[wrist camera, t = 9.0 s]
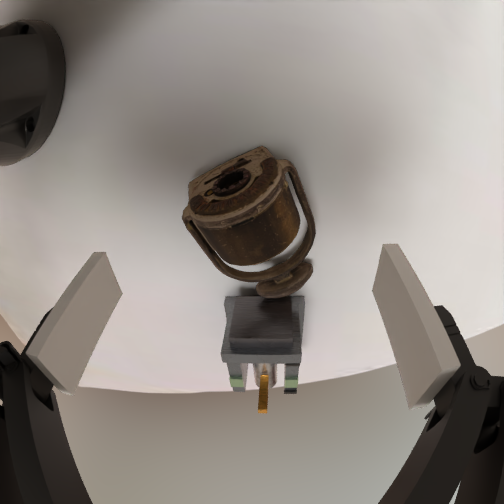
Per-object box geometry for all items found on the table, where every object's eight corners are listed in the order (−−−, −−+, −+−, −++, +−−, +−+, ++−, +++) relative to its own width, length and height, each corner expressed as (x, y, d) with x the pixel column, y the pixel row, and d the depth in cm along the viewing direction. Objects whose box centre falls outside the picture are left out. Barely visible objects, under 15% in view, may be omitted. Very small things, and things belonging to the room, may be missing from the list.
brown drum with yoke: (353, 156, 14) (167, 165, 13) (333, 332, 20) (199, 351, 19) (310, 143, 21) (180, 151, 20) (305, 282, 27) (199, 294, 26)
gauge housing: (225, 296, 28) (213, 353, 22) (304, 296, 27) (309, 354, 21) (234, 347, 32) (226, 399, 26) (300, 347, 31) (302, 400, 25)
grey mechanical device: (236, 296, 26) (223, 365, 19) (291, 296, 25) (293, 366, 19) (245, 361, 31) (238, 420, 25) (288, 362, 31) (288, 421, 24)
